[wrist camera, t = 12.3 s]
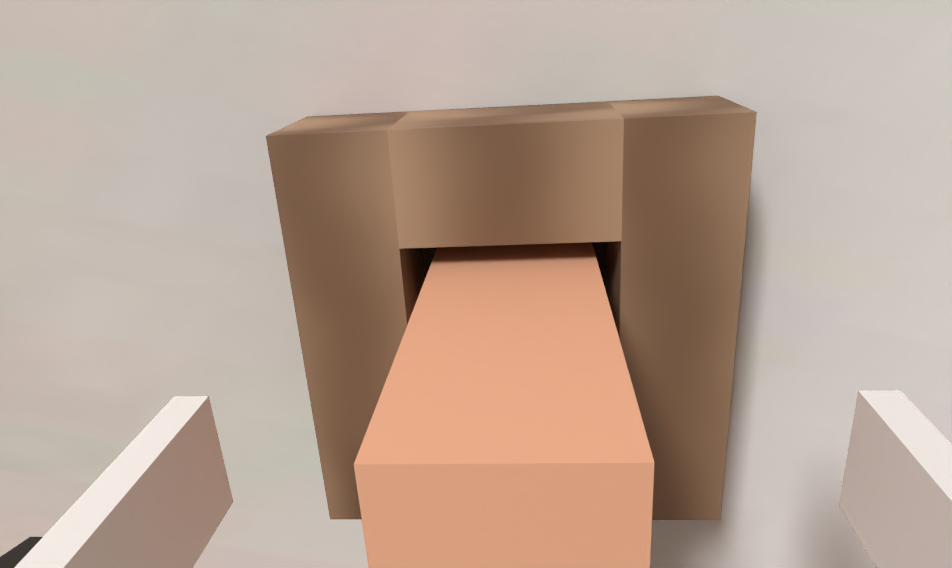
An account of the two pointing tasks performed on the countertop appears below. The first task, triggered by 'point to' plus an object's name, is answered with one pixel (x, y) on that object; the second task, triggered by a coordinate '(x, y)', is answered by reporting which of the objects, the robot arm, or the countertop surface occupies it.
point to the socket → (516, 223)
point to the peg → (508, 422)
